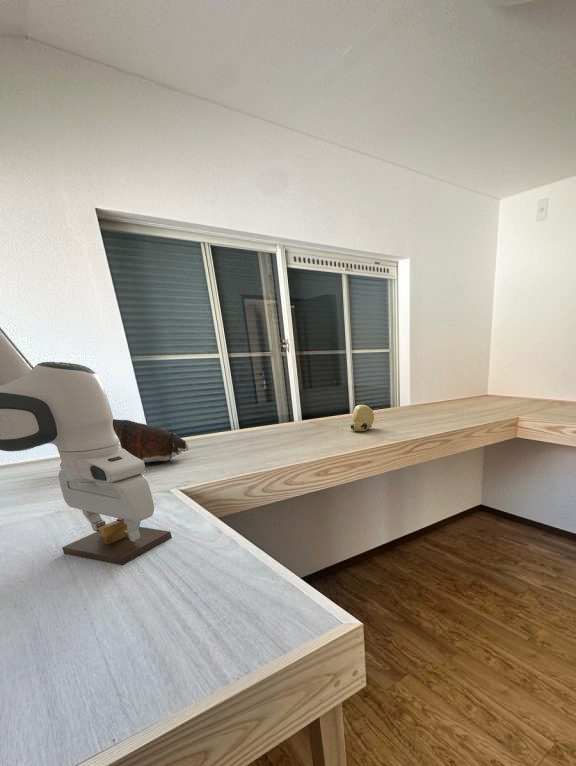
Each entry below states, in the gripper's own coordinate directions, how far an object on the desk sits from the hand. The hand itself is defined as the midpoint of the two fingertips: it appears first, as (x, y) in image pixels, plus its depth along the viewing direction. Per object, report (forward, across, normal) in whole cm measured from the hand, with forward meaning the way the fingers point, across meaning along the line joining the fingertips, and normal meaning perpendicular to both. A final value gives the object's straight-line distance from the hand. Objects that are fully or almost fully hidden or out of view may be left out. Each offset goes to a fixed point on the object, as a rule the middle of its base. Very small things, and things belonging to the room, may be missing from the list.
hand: (116, 534), depth 76 cm
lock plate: (+4, 0, 0) cm, 4 cm away
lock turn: (+1, 0, 0) cm, 1 cm away
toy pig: (+4, -10, +116) cm, 116 cm away
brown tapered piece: (+4, -51, +45) cm, 68 cm away
